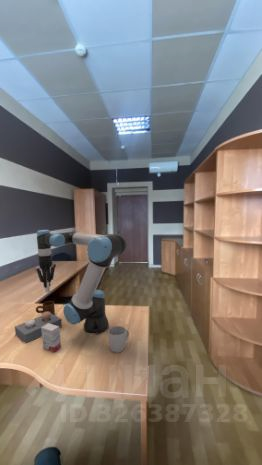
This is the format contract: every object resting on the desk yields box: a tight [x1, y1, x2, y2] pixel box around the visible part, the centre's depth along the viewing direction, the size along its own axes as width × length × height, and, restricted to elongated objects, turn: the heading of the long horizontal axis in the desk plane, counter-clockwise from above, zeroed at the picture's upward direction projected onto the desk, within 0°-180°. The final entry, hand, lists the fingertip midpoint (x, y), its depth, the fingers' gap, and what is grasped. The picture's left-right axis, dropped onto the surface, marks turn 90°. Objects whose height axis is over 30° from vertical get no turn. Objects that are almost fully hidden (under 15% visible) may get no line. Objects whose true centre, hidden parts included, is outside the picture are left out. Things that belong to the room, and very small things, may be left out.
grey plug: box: [24, 318, 35, 329], centre depth 126 cm, size 5×5×8 cm
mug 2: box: [107, 325, 130, 353], centre depth 112 cm, size 13×9×10 cm
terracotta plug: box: [41, 311, 51, 322], centre depth 134 cm, size 5×5×8 cm
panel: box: [14, 313, 63, 344], centre depth 130 cm, size 14×22×5 cm, turn 139°
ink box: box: [41, 323, 62, 353], centre depth 113 cm, size 9×5×12 cm, turn 62°
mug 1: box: [35, 300, 56, 316], centre depth 147 cm, size 12×8×9 cm, turn 124°
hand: (47, 292), depth 134 cm, fingers closed
